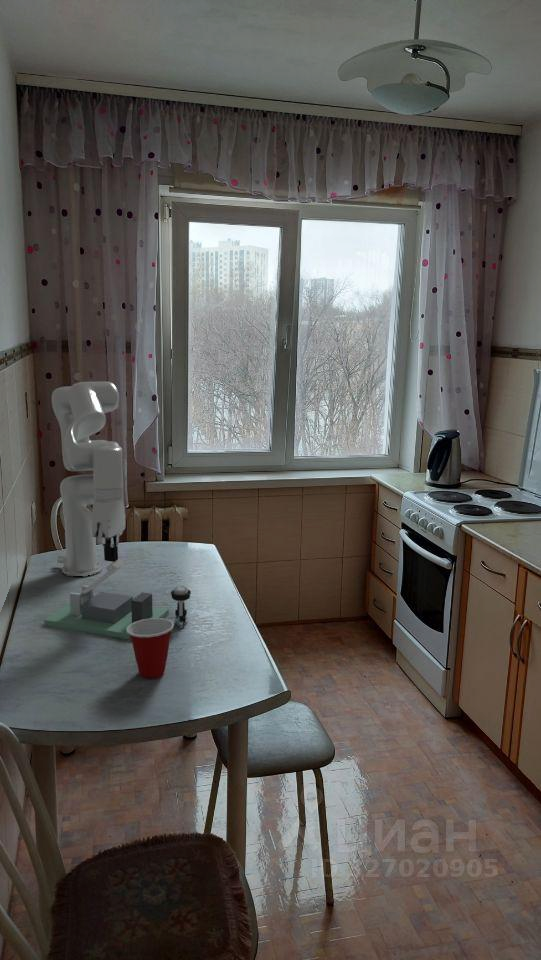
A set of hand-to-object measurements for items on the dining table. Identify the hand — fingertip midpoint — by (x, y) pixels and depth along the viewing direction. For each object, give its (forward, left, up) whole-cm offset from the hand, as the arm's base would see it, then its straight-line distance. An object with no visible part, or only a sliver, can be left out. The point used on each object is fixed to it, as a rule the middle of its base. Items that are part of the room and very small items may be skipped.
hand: (111, 560), depth 188 cm
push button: (+18, +4, -18) cm, 26 cm away
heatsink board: (-2, 0, -17) cm, 17 cm away
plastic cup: (+23, -23, -18) cm, 37 cm away
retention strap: (-4, 0, -7) cm, 8 cm away
